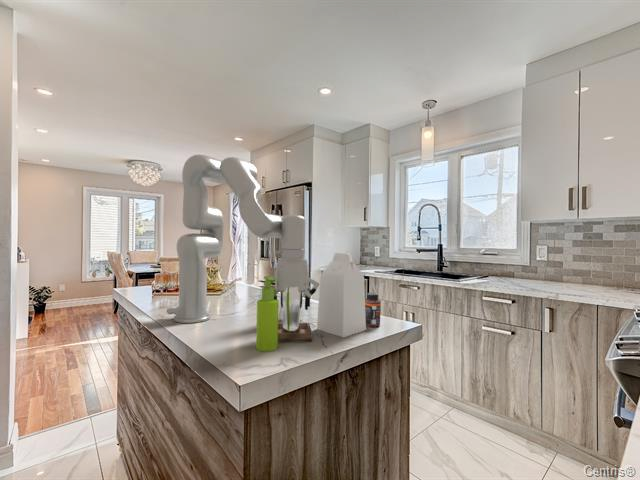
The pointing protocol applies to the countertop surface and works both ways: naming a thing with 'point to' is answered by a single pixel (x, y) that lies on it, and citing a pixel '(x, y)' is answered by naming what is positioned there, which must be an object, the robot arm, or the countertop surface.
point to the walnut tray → (296, 334)
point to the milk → (341, 297)
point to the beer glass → (291, 309)
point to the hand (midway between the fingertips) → (290, 309)
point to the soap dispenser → (267, 318)
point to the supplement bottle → (372, 310)
